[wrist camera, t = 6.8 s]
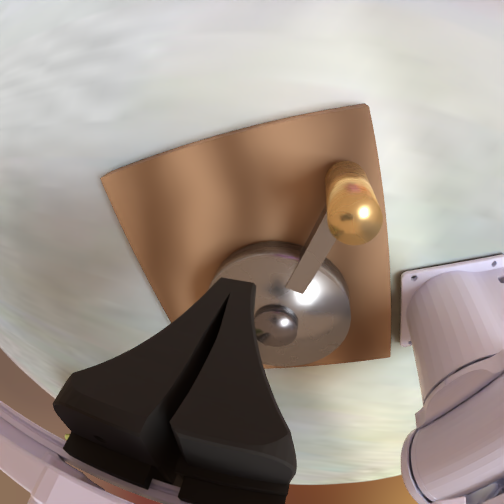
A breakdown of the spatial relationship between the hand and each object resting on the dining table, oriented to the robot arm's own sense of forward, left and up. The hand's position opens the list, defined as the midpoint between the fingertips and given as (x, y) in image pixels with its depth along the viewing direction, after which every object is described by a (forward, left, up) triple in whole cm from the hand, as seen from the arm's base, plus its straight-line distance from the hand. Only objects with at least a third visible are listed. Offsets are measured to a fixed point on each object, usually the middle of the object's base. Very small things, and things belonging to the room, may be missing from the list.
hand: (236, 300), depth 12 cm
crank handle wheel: (-1, +5, -8) cm, 10 cm away
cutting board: (+2, +5, -10) cm, 12 cm away
